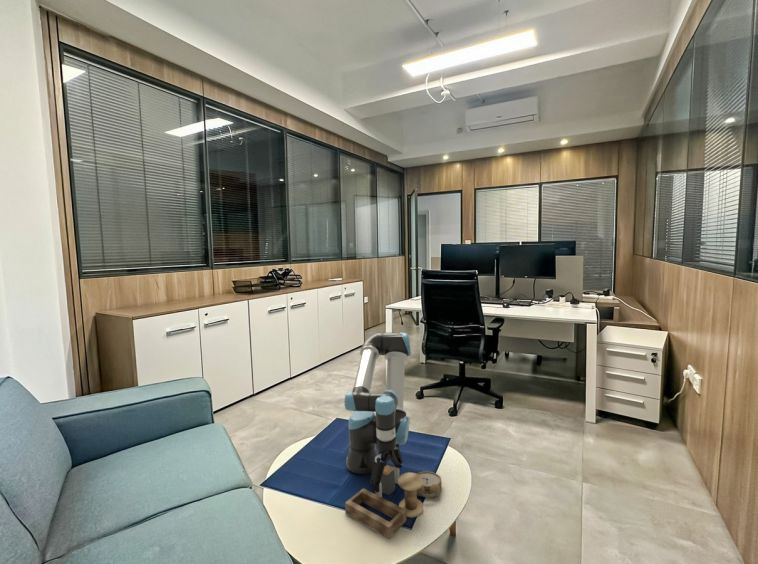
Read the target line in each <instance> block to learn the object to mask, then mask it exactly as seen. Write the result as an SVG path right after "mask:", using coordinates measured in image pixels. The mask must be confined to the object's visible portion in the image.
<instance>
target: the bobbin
mask: <svg viewBox="0 0 758 564" xmlns="http://www.w3.org/2000/svg"><path fill="white" fill-rule="evenodd" d="M399 475H400V476H399V478H398V484H397V485H398V486H399V487H400V488H401V489H403V490H404V498H403V499H402V500H401V501H399V504H398V506H399V507H401V508H403V509H405V510H406V518H416V517H419V516H420V515H422V514H423V512H424V503H423V502H422V501H421V500H420V499H418V495H417V489H419V488H421V487H422V485H423V479H422V477H421V476H420V475H418V474H417V473H416V472H405V473H402V474H399Z"/></svg>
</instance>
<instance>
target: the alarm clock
mask: <svg viewBox="0 0 758 564" xmlns="http://www.w3.org/2000/svg"><path fill="white" fill-rule="evenodd" d="M416 474H418V475H420V476H421V477H422V479H423V485H422V487H421V488H419V489H417V497H424V498H437V497H438V496H439V495H440V494H441V490H442V477H441V476H440V475H439V474H438V473H436V472H432V471H429V470H428V471H426V470H425V471H420V472H417V473H416Z"/></svg>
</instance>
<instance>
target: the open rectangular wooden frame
mask: <svg viewBox="0 0 758 564" xmlns="http://www.w3.org/2000/svg"><path fill="white" fill-rule="evenodd" d="M362 503H363V504H364V505H367V506H368V507H371V508H373V509H374V510H376V511H378V512H380V513H382V514H384V515H386V516H388V517H389V518H391V520H386V519H385V518H383V517H381V516H379V515H378V514H376V513H374V512H372V511H370V510H368V509H366V508H365V507H363V506H361V504H362ZM344 506H345V507H344V508H345V509H344V510H345V514H346V515H348V516H349V517H352V518H353V519H355V520H357V521H358V522H359V523H362V524H363V525H365V526H367V527H369V528H370V529H372V530H374V531H375V532H378V533H379V534H381V535H382V536H384V537H386V538H387V539H391V538H392V537H393V536H394V534H396V533H397V532H398V530H399V529H400V528H401V527H403V525H404V523H405V524H406V522H407V517H406V510H405V509H403V508H401V507H399V505H397V504H396V503H393V502H392V501H389V500H387V499H385V498H383V496H382V497H380V496H378V495H376V494H375V493H373V492H372V491H370V490H368V489H366V488H362V489H361V490H359V491H357V492H356V493H355V494H354V495H353V496H352V497H350V498H349V499H348V500H347V501H346V502H344Z"/></svg>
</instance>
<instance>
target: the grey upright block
mask: <svg viewBox="0 0 758 564" xmlns="http://www.w3.org/2000/svg"><path fill="white" fill-rule="evenodd" d="M380 483H382V494H385V495H387V496H390V495H391V494H392V493H394V491H396V483H395V474H394V470H393V466H390V465H388V464H386V466H385V467H384V471H383V474H382V478H381V481H380Z"/></svg>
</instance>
